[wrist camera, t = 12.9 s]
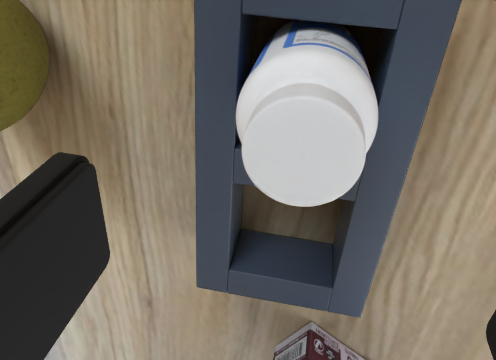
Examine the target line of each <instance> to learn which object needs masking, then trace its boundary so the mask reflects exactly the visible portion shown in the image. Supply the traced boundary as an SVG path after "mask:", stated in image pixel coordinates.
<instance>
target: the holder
mask: <svg viewBox="0 0 496 360" xmlns="http://www.w3.org/2000/svg"><path fill="white" fill-rule="evenodd" d="M461 1H462V0H194V24H195V150H196V276H197V287H199V288H204V289H209V290H215V291H220V292H227V291H228V293H230V294H236V295H241V296H247V297H252V298H258V299H263V300H268V301H274V302H279V303H285V304H290V305H296V306H301V307H306V308H312V309H317V310H323V311H328V312H333V313H339V314H344V315H349V316H355V317H361V315H362V311H363V308H364V305H365V302H366V299H367V296H368V293H369V289H370V286H371V283H372V280H373V277H374V274H375V271H376V268H377V264H378V261H379V258H380V255H381V252H382V249H383V246H384V242H385V239H386V236H387V233H388V230H389V227H390V224H391V221H392V217H393V214H394V211H395V208H396V205H397V202H398V199H399V195H400V192H401V189H402V186H403V183H404V180H405V177H406V173H407V170H408V167H409V164H410V161H411V158H412V155H413V152H414V148H415V145H416V142H417V139H418V136H419V133H420V130H421V126H422V123H423V120H424V117H425V114H426V111H427V108H428V105H429V101H430V98H431V95H432V92H433V89H434V86H435V83H436V79H437V76H438V73H439V70H440V67H441V64H442V61H443V57H444V54H445V51H446V48H447V45H448V42H449V39H450V36H451V32H452V29H453V26H454V23H455V20H456V17H457V14H458V10H459V7H460V4H461ZM256 15H257V16H267V17H277V18H286V19H296V20H306V21H316V22H326V23H336V24H346V25H356V26H365V27H375V28H383V30H382V34H381V39H380V43H379V47H378V52H377V56H376V60H375V65H374V69H373V73H372V78H371V82H372V84H373V88H374V91H375V95H376V100H377V105H378V126H377V131H376V135H375V138H374V140H373V142H372V145H371V146H370V148H369V150H368V152H367V153H366V158H365V164H364V168H363V170H362V172H361V174H360V176H359V178H358V180H357V181H356V183H355V184H354V185H353V186H352V188H351V189H350V190H348V191H347V192H346V193H345V194H343V195H342V196H341V197H339V198H337V199H343V204H342V208H341V212H340V217H339V221H338V225H337V230H336V234H335V238H334V243H333V244H329V243H322V242H316V241H310V240H304V239H298V238H292V237H286V236H280V235H274V234H268V233H262V232H256V231H250V230H243V229H241V221H242V207H243V192H244V185H251V186H256V185H255V184H254V183H253V182H252V181H251V179H250V178H249V176H248V174H247V172H246V170H245V167H244V164H243V159H242V144H241V141H240V139H239V136H238V132H237V127H236V107H237V102H238V98H239V95H240V92H241V90H242V88H243V85H244V83H245V82H246V80H247V78H248V76H249V74H250V72H251V70H252V60H253V45H254V31H255V16H256Z"/></svg>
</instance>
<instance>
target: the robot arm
mask: <svg viewBox="0 0 496 360" xmlns="http://www.w3.org/2000/svg"><path fill="white" fill-rule="evenodd" d="M109 257H110V249H109V244H108V238H107V232H106V227H105V221H104V215H103V209H102V204H101V198H100V192H99V187H98V181H97V175H96V170H95V167H94V165H93V164H90V163H89V161H88V159H87V158H86V157H84V156H81V155H74V154H68V153H62V152H61V153H57V154H55V155H53V156H52V157H51V158H50V159H49V160H47V161H46V162H45V163H44V164H42V165H41V166H40V167H39V168H38V169H36V170H35V171H34V172H33V173H32V174H30V175H29V176H28V177H27V178H26V179H24V180H23V181H22V182H21V183H19V184H18V185H17V186H16V187H15V188H13V189H12V190H11V191H10V192H9V193H7V194H6V195H5V196H4V197H3V198H1V199H0V360H44V358H45V357H46V355H47V354H48V352H49V351H50V349H51V348H52V346H53V345H54V344H55V342H56V341H57V339H58V338H59V336H60V335H61V333H62V332H63V330H64V329H65V327H66V326H67V324H68V323H69V321H70V320H71V318H72V317H73V315H74V314H75V312H76V311H77V309H78V308H79V306H80V305H81V303H82V302H83V301H84V299H85V298H86V296H87V295H88V293H89V292H90V290H91V289H92V287H93V286H94V284H95V283H96V281H97V280H98V278H99V277H100V275H101V274H102V272H103V271H104V269H105V268H106V266H107V264H108V261H109ZM486 337H487V342H488V345H489V348H490V350H491V353H492V356H493V359H494V360H496V310H495V312H494V314H493V315H492V317H491V319H490V320H489V322H488V324H487V329H486Z"/></svg>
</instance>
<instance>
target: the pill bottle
mask: <svg viewBox="0 0 496 360" xmlns="http://www.w3.org/2000/svg"><path fill="white" fill-rule="evenodd" d="M377 126H378V105H377V100H376V95H375V91H374V88H373V84H372V82H371V78H370V75H369V72H368V69H367V66H366V63H365V60H364V56H363V53H362V50H361V48H360V46H359V44H358V42H357V40H356V39H355V37H354V36H353V35H352V34H351V33H350V32H349V31H348V30H347V29H346V28H345V27H343V26H342V25H340V24H336V23H326V22H316V21H306V20H294V21H292V22H290V23H288V24H286V25H284V26H283V27H281V28H280V29H279V30H277V31H276V32H275V33H274V34H273V35H272V36H271V38H270V39H269V40H268V41H267V43H266V44H265V46H264V48H263V50H262V52H261V54H260V55H259V57H258V59H257V61H256V63H255V65H254V67H253V69H252V70H251V72H250V74H249V76H248V78H247V80H246V82H245V83H244V85H243V88H242V90H241V92H240V95H239V98H238V102H237V107H236V127H237V132H238V136H239V139H240V141H241V144H242V159H243V164H244V167H245V170H246V172H247V174H248V176H249V178H250V179H251V181H252V182H253V183H254V184H255V185H256V187H257V188H258V189H259V190H261V191H262V192H263V193H264V194H266V195H267V196H269V197H270V198H272V199H274V200H276V201H278V202H281V203H284V204H287V205H292V206H300V207H311V206H317V205H322V204H325V203H329V202H331V201H333V200H335V199H337V198H339V197H341V196H342V195H343V194H345V193H346V192H347V191H348V190H350V189H351V188H352V186H353V185H354V184H355V183H356V181H357V180H358V178H359V176H360V174H361V172H362V170H363V168H364V164H365V158H366V153H367V152H368V150H369V148H370V146H371V145H372V142H373V140H374V138H375V135H376V131H377Z"/></svg>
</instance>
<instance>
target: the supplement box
mask: <svg viewBox="0 0 496 360" xmlns="http://www.w3.org/2000/svg"><path fill="white" fill-rule="evenodd" d="M273 360H365V359H364V358H362V357H361V356H359V355H358V354H356V353H355V352H353V351H352V350H350V349H349V348H348V347H346V346H345V345H343V344H342V343H340V342H339V341H338V340H336V339H335V338H333V337H332V336H331V335H329V334H328V333H326V332H325V331H324V330H322V329H321V328H320V327H318V326H317V325H316V324H315V323H313V322H310V323H309V324H307V325H306V326H304V327H303V328H301V329H300V330H298V331H297V332H295V333H294V334H292V335H291V336H289V337H287V338H286V339H284V340H283V341H282V342H280V343H279V344H277V345H276V346H275V352H274V358H273Z"/></svg>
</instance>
